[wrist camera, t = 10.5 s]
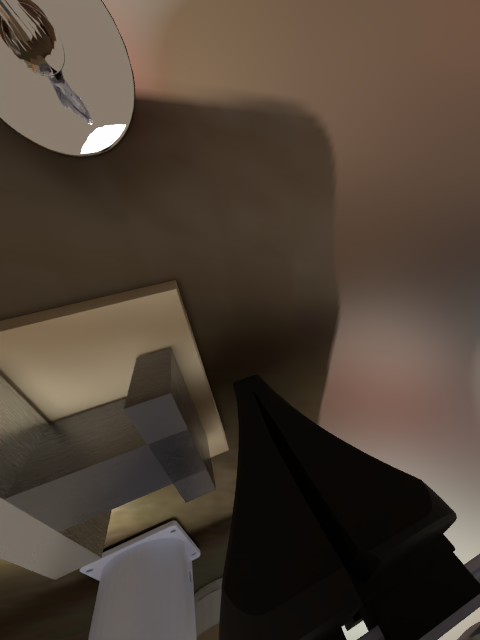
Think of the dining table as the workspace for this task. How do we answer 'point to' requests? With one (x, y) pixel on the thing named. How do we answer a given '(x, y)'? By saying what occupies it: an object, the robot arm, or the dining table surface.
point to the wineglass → (65, 75)
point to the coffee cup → (208, 611)
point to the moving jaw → (94, 466)
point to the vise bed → (103, 354)
